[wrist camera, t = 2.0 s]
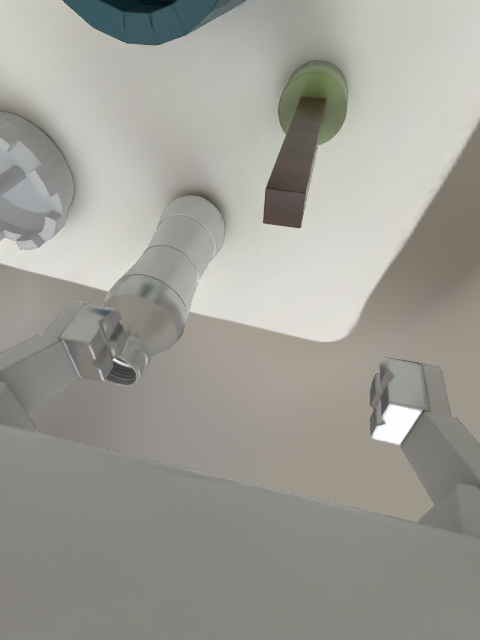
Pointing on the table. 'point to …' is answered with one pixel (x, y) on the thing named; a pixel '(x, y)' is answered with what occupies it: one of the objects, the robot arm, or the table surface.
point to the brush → (303, 137)
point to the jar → (149, 17)
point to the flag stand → (31, 184)
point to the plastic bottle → (164, 284)
